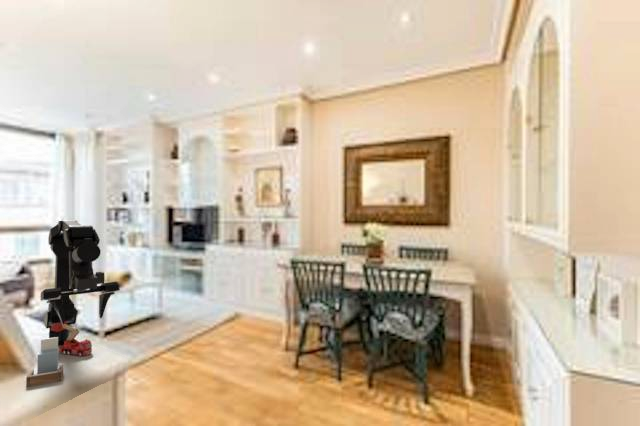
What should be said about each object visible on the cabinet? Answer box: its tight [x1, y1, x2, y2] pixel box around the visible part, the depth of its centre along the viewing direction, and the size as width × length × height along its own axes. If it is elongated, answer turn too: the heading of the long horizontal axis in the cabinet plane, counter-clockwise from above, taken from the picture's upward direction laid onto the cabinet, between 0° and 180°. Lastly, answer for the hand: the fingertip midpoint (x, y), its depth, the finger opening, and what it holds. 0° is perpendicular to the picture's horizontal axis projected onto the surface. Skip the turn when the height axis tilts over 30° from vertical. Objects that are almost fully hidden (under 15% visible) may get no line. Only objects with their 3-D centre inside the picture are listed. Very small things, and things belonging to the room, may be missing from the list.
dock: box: [25, 364, 64, 388], centre depth 104 cm, size 11×8×2 cm, turn 30°
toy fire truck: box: [51, 322, 93, 357], centre depth 120 cm, size 3×14×10 cm, turn 78°
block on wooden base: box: [36, 337, 60, 374], centre depth 105 cm, size 4×4×9 cm
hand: (82, 321), depth 105 cm, fingers open, 9 cm apart
